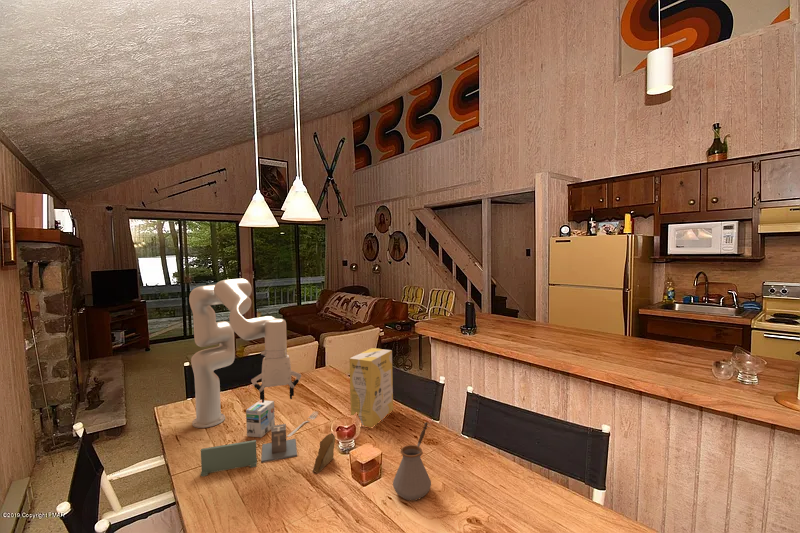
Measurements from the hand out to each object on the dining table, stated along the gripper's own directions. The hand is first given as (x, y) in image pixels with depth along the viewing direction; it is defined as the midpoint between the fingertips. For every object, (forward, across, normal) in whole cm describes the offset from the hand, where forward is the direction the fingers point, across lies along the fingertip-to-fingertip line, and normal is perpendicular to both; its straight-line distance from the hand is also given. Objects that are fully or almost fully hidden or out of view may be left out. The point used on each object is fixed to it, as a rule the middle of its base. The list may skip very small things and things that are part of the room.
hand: (277, 399), depth 137 cm
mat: (+19, 0, 0) cm, 19 cm away
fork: (+20, +9, +17) cm, 28 cm away
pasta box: (+19, +39, +15) cm, 46 cm away
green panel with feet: (+19, -16, -6) cm, 26 cm away
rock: (+19, +14, -14) cm, 28 cm away
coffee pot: (+19, +41, -35) cm, 57 cm away
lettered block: (+18, 0, 0) cm, 19 cm away
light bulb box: (+20, -7, +19) cm, 28 cm away
